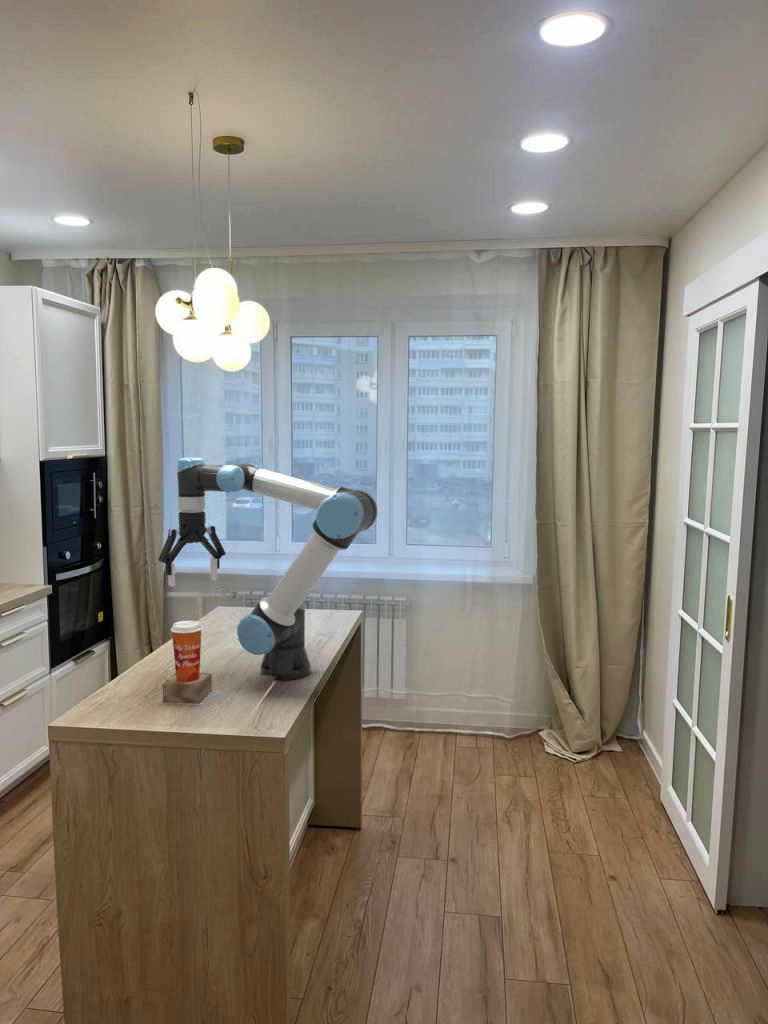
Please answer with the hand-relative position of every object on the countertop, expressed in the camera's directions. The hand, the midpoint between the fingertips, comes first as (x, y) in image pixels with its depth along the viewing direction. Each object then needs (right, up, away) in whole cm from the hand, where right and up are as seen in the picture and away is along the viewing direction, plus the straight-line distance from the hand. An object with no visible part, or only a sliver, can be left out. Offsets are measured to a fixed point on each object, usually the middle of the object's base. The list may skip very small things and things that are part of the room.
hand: (193, 583), depth 214 cm
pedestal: (+3, -29, -17) cm, 34 cm away
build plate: (+3, -30, -17) cm, 35 cm away
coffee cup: (+3, -24, -17) cm, 30 cm away
